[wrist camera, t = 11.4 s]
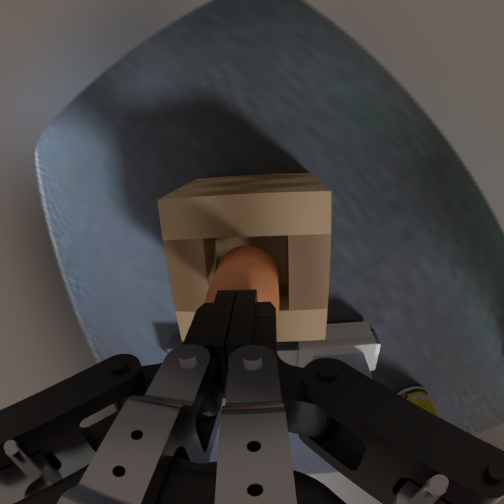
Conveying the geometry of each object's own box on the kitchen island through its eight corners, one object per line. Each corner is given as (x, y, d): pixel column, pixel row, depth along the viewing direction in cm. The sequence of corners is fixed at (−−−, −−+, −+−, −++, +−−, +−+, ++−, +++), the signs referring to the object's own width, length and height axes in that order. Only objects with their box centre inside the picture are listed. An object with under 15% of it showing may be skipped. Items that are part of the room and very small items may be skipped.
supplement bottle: (400, 383, 27) (424, 444, 19) (432, 384, 27) (459, 439, 19) (380, 412, 29) (397, 470, 21) (412, 412, 29) (432, 466, 21)
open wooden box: (309, 172, 21) (331, 191, 13) (310, 277, 23) (325, 339, 16) (196, 178, 21) (157, 200, 14) (208, 280, 24) (181, 341, 17)
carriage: (366, 321, 24) (400, 399, 16) (358, 369, 26) (380, 446, 18) (297, 325, 25) (305, 409, 16) (296, 374, 27) (301, 455, 18)
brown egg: (277, 244, 14) (278, 270, 12) (278, 300, 15) (280, 334, 13) (214, 246, 15) (201, 272, 12) (220, 301, 16) (210, 335, 13)
